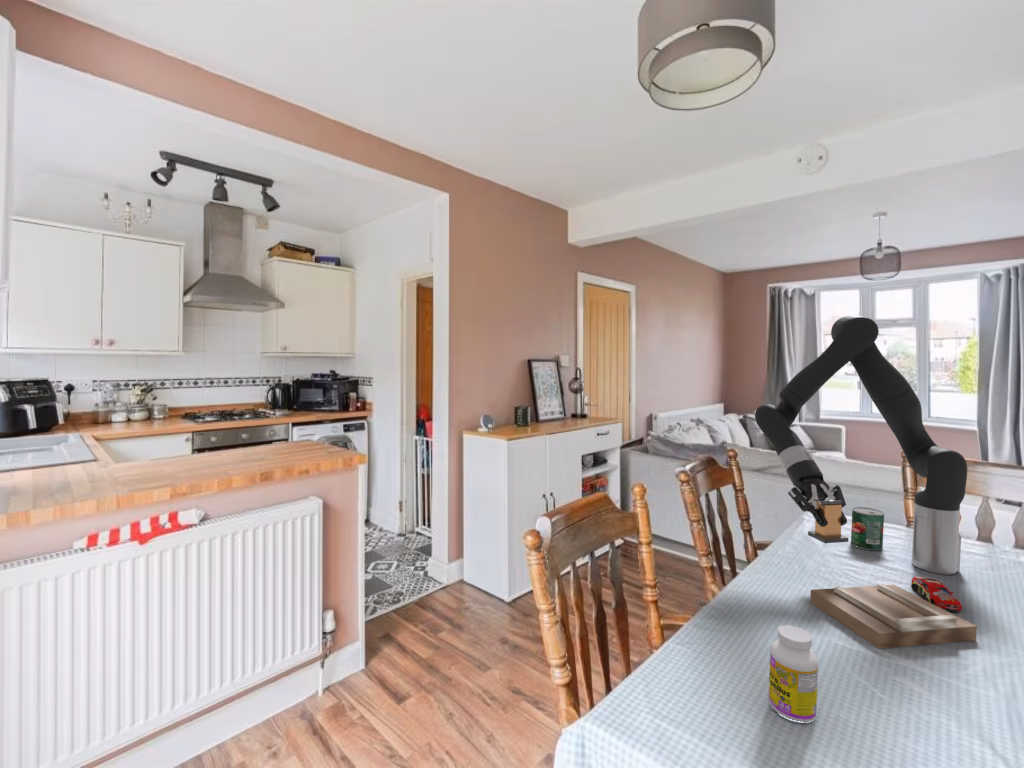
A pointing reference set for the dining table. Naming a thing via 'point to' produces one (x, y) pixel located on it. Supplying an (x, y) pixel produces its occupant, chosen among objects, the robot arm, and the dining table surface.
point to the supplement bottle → (793, 675)
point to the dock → (892, 616)
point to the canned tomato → (867, 528)
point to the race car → (936, 593)
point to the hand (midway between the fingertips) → (834, 524)
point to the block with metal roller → (829, 523)
